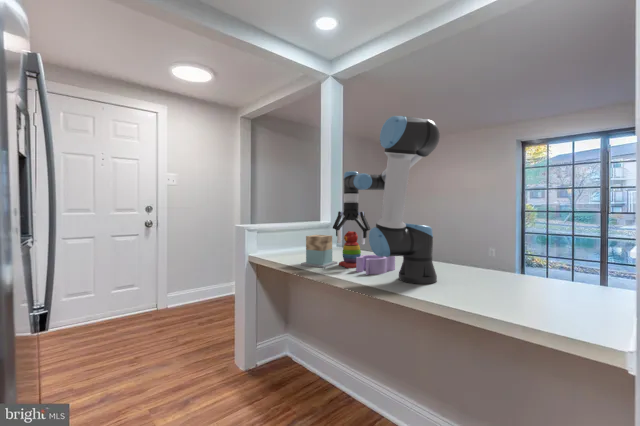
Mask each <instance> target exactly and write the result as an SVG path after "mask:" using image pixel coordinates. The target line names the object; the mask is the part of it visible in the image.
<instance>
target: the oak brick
mask: <svg viewBox="0 0 640 426" xmlns="http://www.w3.org/2000/svg"><path fill="white" fill-rule="evenodd" d="M329 249H332V250H333V235H329V234H328V235H327V234H312V235H306V236H305V251H306V250H316V251H325V250H329Z"/></svg>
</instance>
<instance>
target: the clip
mask: <svg viewBox="0 0 640 426" xmlns="http://www.w3.org/2000/svg"><path fill="white" fill-rule="evenodd" d="M395 270H396V256H391V257H379V256H377V255H375V254H363V255H362V254H361V256H360V257H356V268H355V272H356V273H364V271H365V275H366V274H367V276H369V275H383V274H386V273H387V272H390V271H391V272H393V271H395Z"/></svg>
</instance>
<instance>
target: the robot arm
mask: <svg viewBox="0 0 640 426" xmlns="http://www.w3.org/2000/svg"><path fill="white" fill-rule="evenodd" d="M440 135H441V133H440V129H439V127H438V125H437V124H436V123H435V122H434V121H433V120H431V119H428V118H423V117H422V118H421V117H420V118H419V117H413V116H407V115H392V116H390V117H389V118H388V119H386V120H385V122H384V123H383V125H382V127H381V130H380V132H379V143H380V145H381V147H382V148H384V152H383V153H384V154H385V155H386V157H387V162H386V163H387V164H386V168H385V169H384V170H383V171H382V172H381V173H380V174H370V173H359V172H358V171H355V170H354V171H350V170H349V171H345V172H344V173H343V202H344V203H343V211H341V210H340V211H337V216H336V219H335V221H334V224H333V225H332V229H334V230H335V236H336V237H337V238H336V239H337V244H340V243H342V230H341V228H342V227H343V225H344V224H345V223H346V222H348V221H354V222H356V224H357V225H358V226H359V228H360V229H361V230H362V231H361V233H360V234H361V239H360V240H361V241H360V243H361V245H365V244H366V238H367V237H368V243H369V246H370V250H371V251H372V252H373V255H377V256H379V257H391V256H395V257H402V256H403V258H402V259H403V260H402V263H401V266H400V269H399V271H398V272H399V273H398V279H399V280H400V281H401V282H405V283H409V284H418V285H427V284H428V285H429V284H434V283H437V281H438V279H437V277H438V276H437V273H436V272H437V271H436V270H435V265H434V262H433V248H434V247H433V243H434V241H433V238H434V235H433V228H432V227H431V226H430V225H424V224H422V225H421V224H414V223H405V222H404V214H405V208H406V207H405V206H406V200H407V194H408V193H407V192H408V186H409V185H408V183H409V179H410V170H411V168H412V167H414V165H415V164H417V163H418V162H419V161H420V160H421V159H422V158H426V157H428V156H429V155H430V154H432V153H433V152H434V151H435V149H436V148H437V146H438V144H439V141H440ZM362 190H363V191H383V197H382V203H381V205H382V206H381V214H380V218H379V219H378V220H376V221H375V222H376V223H375V227H372V228H371V227H370V225H369V222H368V220H367V218H366V215H365V214H366V213H365V212H364V211H359V192H360V191H362ZM342 217H343V218H342ZM359 217H360V218H359ZM341 219H342V220H341ZM360 219H361V220H360ZM368 231H369V233H367V232H368ZM367 235H368V236H367Z"/></svg>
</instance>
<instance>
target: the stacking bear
mask: <svg viewBox="0 0 640 426" xmlns="http://www.w3.org/2000/svg"><path fill="white" fill-rule="evenodd" d="M358 236H359V235H358V234H357V232H356V231H350V230H348V231H347V232H346V233H345V234H344V236H343V240H344V241H345V242H344V244H343V248H342V258H343V260H342V261H340V262H339V263H338V266H340V267H341V266H342V267H345V269H354V268H355V269H356V257H360V256H362V252H361V247H360V244H359V243H358V242H357V241H358V239H359V237H358Z"/></svg>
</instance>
